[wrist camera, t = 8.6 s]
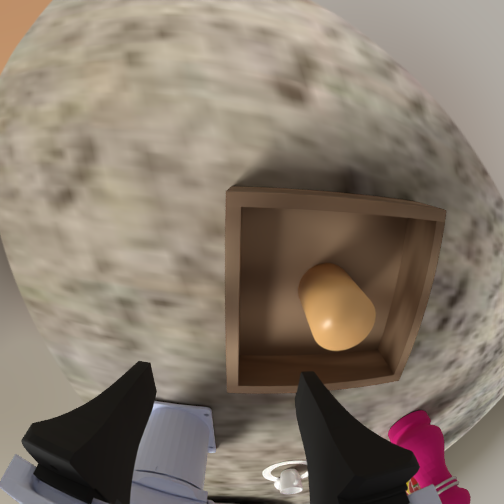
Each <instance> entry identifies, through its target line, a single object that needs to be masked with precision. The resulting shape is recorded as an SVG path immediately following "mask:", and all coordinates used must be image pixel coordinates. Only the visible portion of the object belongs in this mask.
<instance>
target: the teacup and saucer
mask: <svg viewBox="0 0 504 504" xmlns="http://www.w3.org/2000/svg"><path fill="white" fill-rule="evenodd" d="M294 463H299V464H305V465H307V461H305V460H293V461H285V462H280V463H277V464H274V465H271V466H269V467H267V468H266V469H265V470H264V471H263V476H264V477H265V478H266V479H268V480H272V481H275V483H274V486H275V487H276V488H277V489H279V490H280V492H281V493H282V494H294V493H298V492H300V491H302V490H303V487H302V483H301V479H302V478H305V477H307V476H308V471H307V472H306V473H305V474H303V475H300V476H299V473H298V471H297V470H296V469H292V468H291V469H285V470H283V471H282V473H281V476H280V478H277V477H274V476H272V475H271V471H272V470H273V469H274V468H276V467H278V466H281V465H286V464H294Z"/></svg>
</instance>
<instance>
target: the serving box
mask: <svg viewBox="0 0 504 504" xmlns="http://www.w3.org/2000/svg"><path fill="white" fill-rule="evenodd" d="M445 217H446V210H444V209H441V208H437V207H434V206H430V205H426V204H423V203H419V202H415V201H411V200H404V199H396V198H388V197H380V196H371V195H362V194H352V193H342V192H330V191H318V190H304V189H287V188H266V187H235V186H231V187H230V188H229V189H228V190H227V191H226V218H225V327H226V374H227V393H256V394H268V393H297V388H298V384H299V379H300V375H301V372H303V371H314V372H315V373H316V375H317V376H318V377H319V379H320V380H321V381H322V383H323V384H324V385H325V387H326V388H327V389H328V390H339V389H348V388H356V387H363V386H370V385H377V384H383V383H388V382H394V381H399V379H400V377H401V374H402V372H403V370H404V367H405V365H406V363H407V360H408V358H409V355H410V353H411V350H412V347H413V345H414V342H415V339H416V336H417V334H418V331H419V328H420V325H421V322H422V319H423V316H424V312H425V309H426V306H427V302H428V299H429V295H430V292H431V288H432V284H433V280H434V276H435V272H436V267H437V263H438V258H439V253H440V248H441V243H442V237H443V231H444V224H445ZM322 263H332V264H336V265H338V266H340V267H341V268H343V269H344V271H345V272H346V273H347V274H348V275H349V276H350V277H351V278H352V280H353V281H354V282H355V283H356V284H357V285H358V286H359V288H360V289H361V290H362V291H363V292H364V293H365V295H366V296H367V297H368V298H369V299H370V300H371V302H372V303H373V305H374V307H375V312H376V318H375V323H374V326H373V328H372V330H371V331H370V333H369V334H368V336H367V337H366V338H365V339H364V340H363V341H361V342H360V343H359V344H357V345H355V346H354V347H351V348H349V349H346V350H340V351H332V350H328V349H325V348H323V347H321V346H320V345H319V344H318V343H317V342H316V341H315V339H314V337H313V334H312V332H311V329H310V326H309V323H308V321H307V318H306V315H305V313H304V310H303V307H302V304H301V302H300V299H299V296H298V286H299V282H300V280H301V278H302V277H303V275H304V274H305V273H306V272H307V271H308V270H309V269H310V268H312V267H314V266H316V265H318V264H322Z"/></svg>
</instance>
